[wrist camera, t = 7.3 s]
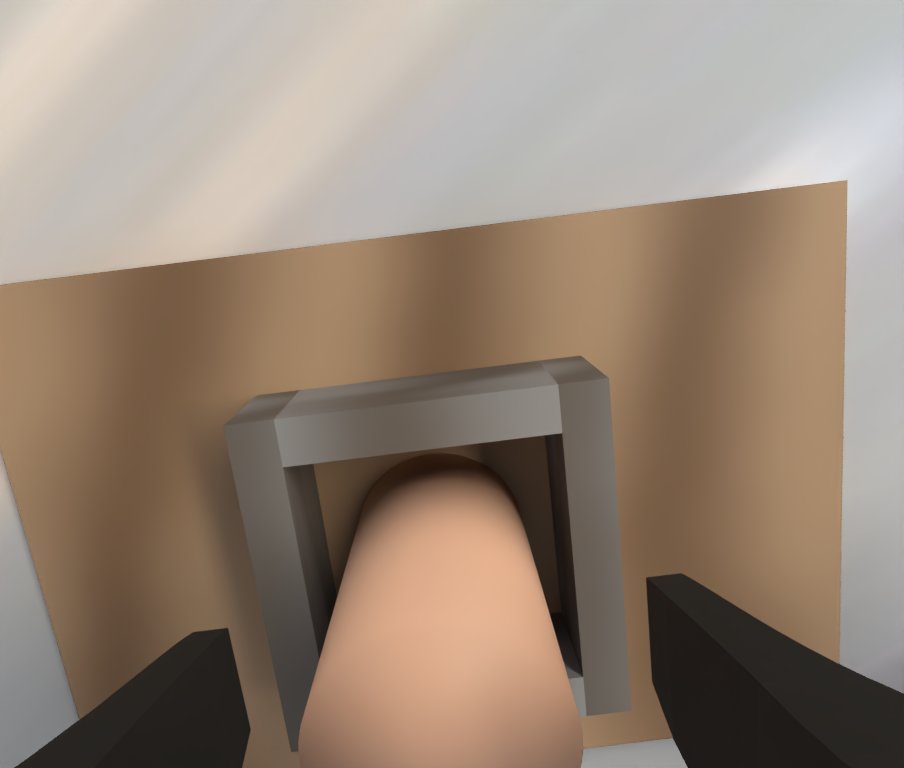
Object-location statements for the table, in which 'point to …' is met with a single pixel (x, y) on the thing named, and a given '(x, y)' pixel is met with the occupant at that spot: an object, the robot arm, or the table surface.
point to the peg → (440, 635)
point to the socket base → (438, 434)
